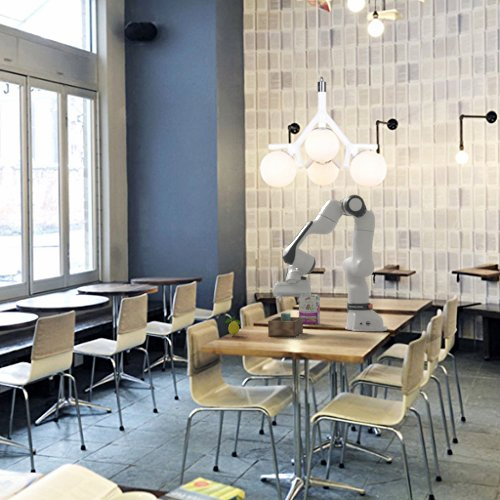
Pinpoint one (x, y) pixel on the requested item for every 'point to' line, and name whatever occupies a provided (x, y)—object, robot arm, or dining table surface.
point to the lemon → (233, 326)
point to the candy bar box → (310, 309)
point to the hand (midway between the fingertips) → (290, 301)
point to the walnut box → (285, 327)
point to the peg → (285, 317)
